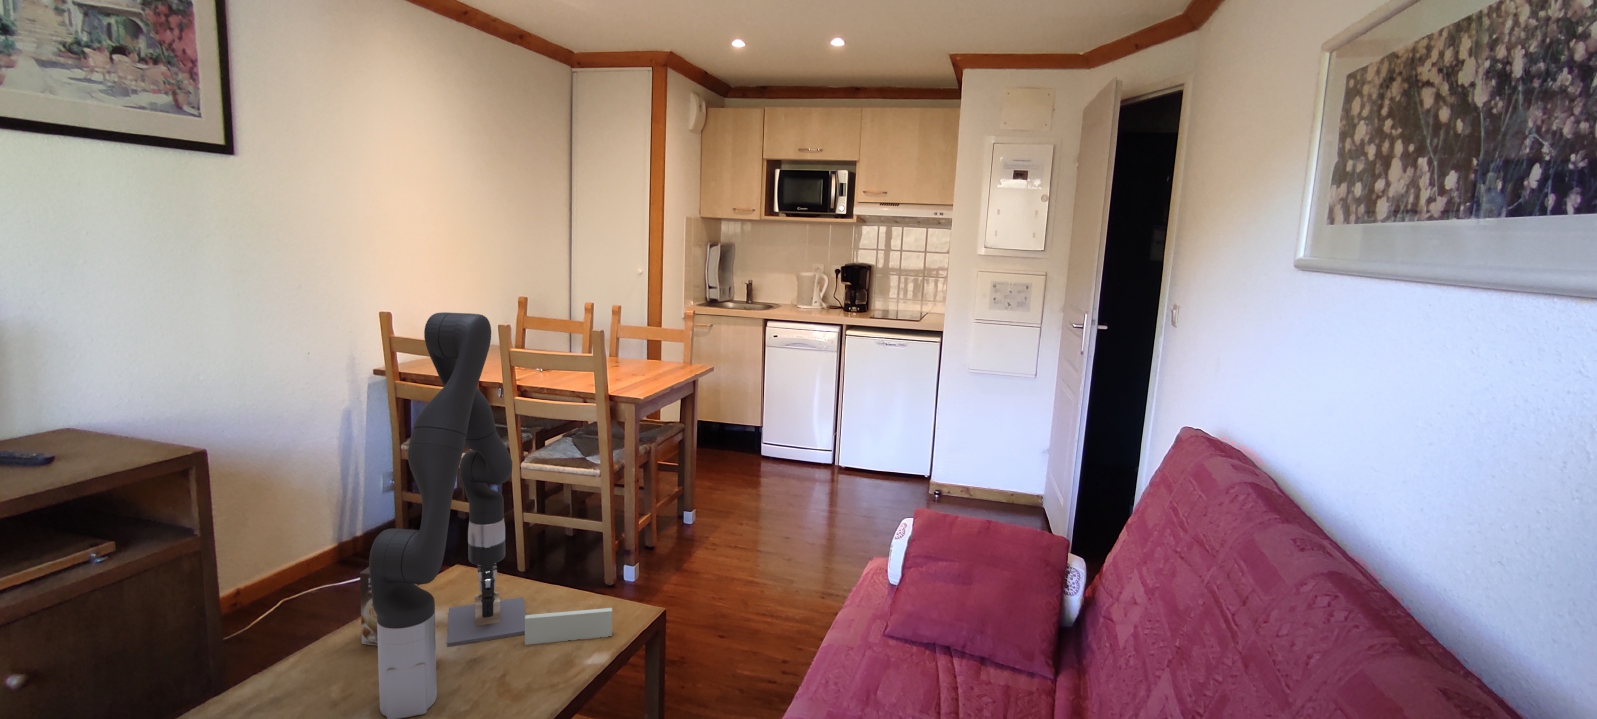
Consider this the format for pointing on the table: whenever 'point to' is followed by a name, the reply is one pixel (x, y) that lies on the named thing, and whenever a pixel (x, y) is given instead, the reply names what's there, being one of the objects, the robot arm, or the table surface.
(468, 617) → the mat
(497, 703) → the table surface
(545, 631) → the screen
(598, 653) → the table surface
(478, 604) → the letter cube
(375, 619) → the coffee box
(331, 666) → the table surface
